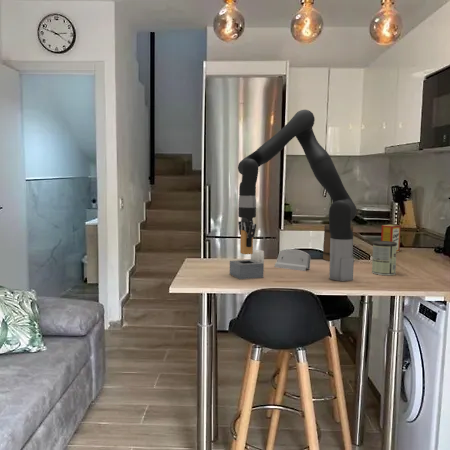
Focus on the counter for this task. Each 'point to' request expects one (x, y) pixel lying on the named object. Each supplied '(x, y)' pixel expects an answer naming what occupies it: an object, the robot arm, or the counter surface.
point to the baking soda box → (391, 234)
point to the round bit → (258, 256)
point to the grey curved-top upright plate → (293, 260)
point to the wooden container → (327, 242)
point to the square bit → (243, 244)
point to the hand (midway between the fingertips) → (246, 245)
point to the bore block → (246, 269)
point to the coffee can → (384, 258)
